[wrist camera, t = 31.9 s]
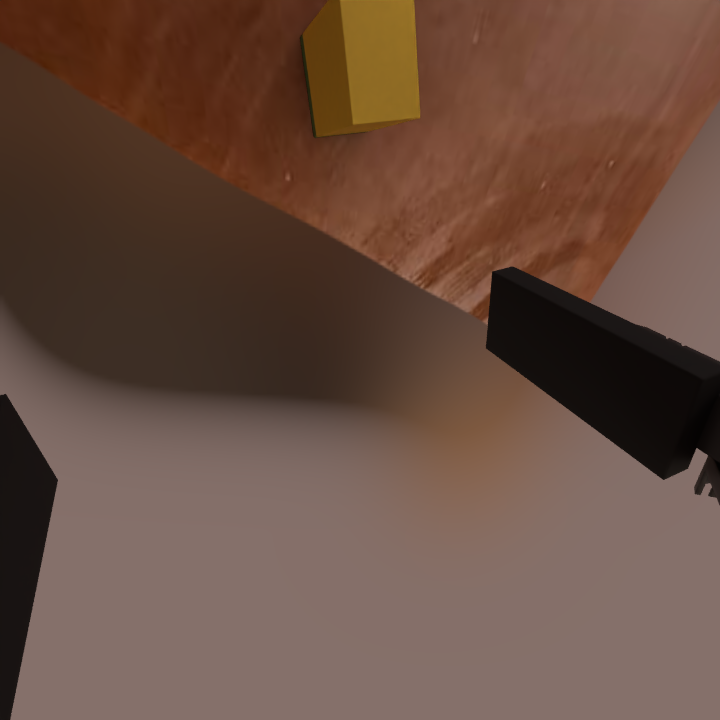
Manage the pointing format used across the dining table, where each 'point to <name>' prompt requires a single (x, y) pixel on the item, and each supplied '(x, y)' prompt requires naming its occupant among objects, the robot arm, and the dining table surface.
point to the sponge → (361, 66)
